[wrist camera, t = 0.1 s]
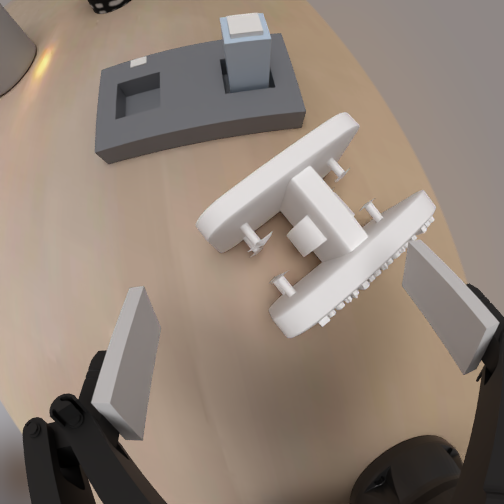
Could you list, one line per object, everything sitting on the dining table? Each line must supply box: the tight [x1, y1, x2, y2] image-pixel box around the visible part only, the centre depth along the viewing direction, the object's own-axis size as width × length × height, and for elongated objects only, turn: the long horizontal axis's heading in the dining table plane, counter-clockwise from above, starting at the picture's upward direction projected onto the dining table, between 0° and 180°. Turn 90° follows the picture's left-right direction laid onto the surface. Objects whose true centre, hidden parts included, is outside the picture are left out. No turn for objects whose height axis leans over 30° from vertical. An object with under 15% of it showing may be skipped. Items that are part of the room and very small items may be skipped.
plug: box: [220, 13, 271, 93], centre depth 26 cm, size 5×4×11 cm
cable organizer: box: [196, 112, 436, 338], centre depth 25 cm, size 15×11×12 cm
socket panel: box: [95, 33, 306, 164], centre depth 30 cm, size 12×22×4 cm, turn 99°
